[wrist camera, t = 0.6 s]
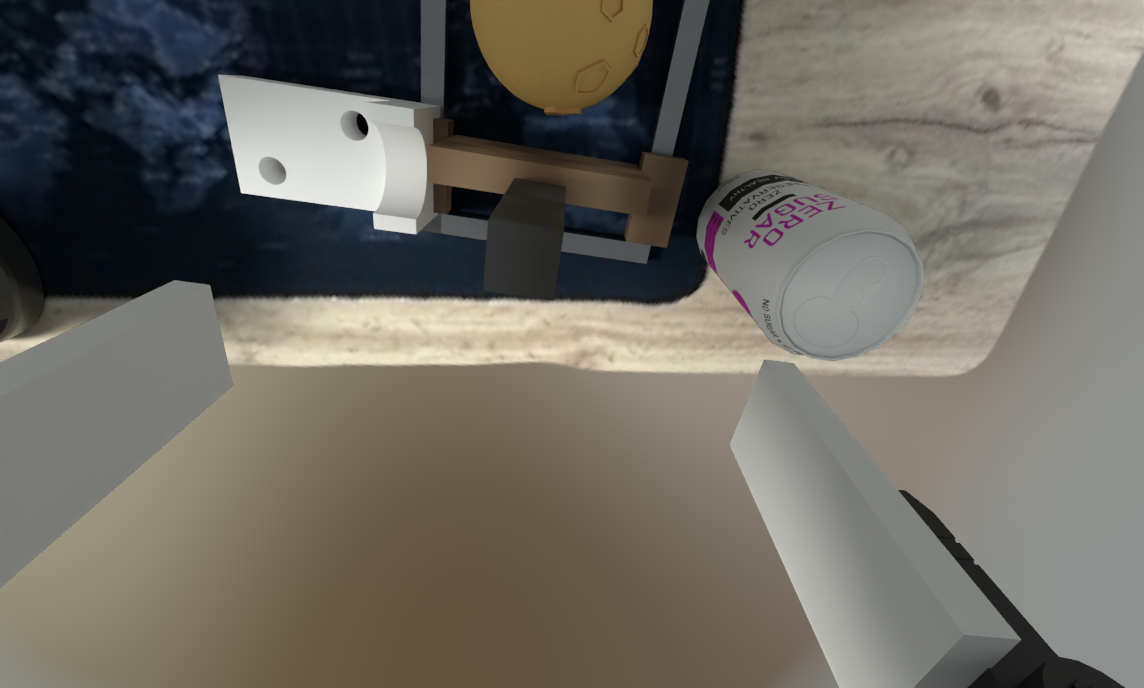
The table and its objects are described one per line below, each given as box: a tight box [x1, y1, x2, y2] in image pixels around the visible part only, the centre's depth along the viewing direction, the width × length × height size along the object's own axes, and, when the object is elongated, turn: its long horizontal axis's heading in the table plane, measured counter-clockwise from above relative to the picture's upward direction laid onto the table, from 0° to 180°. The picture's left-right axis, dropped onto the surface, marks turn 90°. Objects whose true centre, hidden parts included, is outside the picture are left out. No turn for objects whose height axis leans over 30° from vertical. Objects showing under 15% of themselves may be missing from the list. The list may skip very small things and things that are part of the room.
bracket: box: [218, 75, 440, 234], centre depth 30 cm, size 13×7×8 cm, turn 82°
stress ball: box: [470, 0, 653, 115], centre depth 25 cm, size 10×10×10 cm
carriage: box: [427, 118, 689, 300], centre depth 26 cm, size 19×6×18 cm, turn 81°
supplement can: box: [696, 169, 924, 361], centre depth 29 cm, size 8×8×15 cm
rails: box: [421, 0, 709, 264], centre depth 30 cm, size 18×28×1 cm, turn 171°
